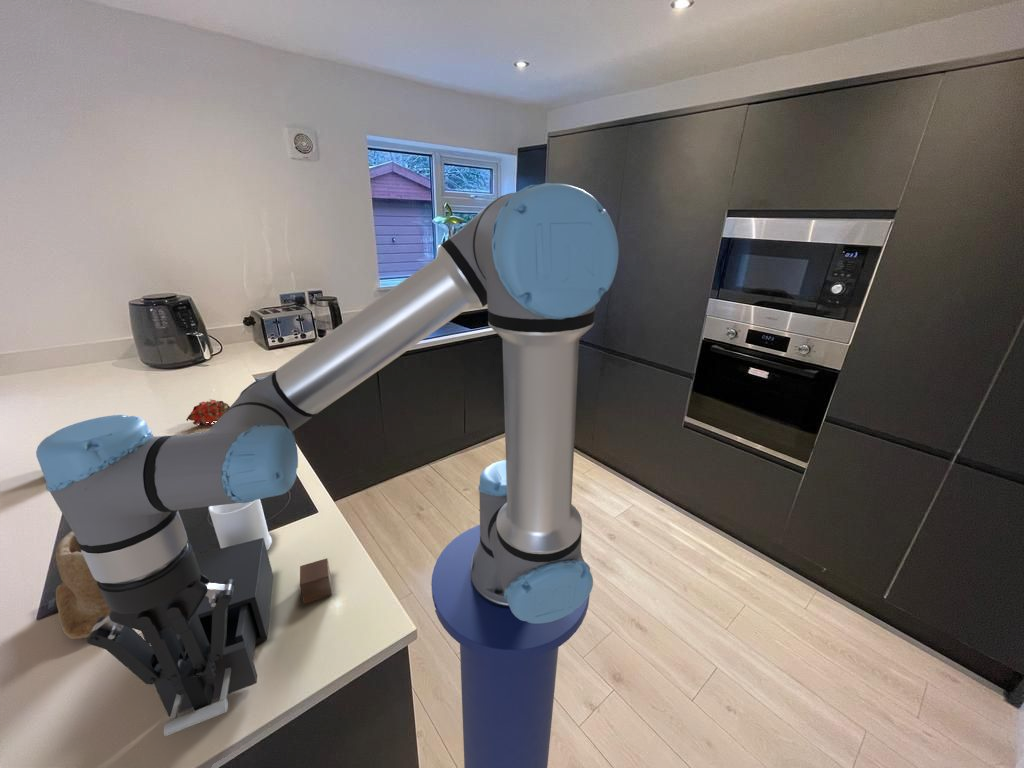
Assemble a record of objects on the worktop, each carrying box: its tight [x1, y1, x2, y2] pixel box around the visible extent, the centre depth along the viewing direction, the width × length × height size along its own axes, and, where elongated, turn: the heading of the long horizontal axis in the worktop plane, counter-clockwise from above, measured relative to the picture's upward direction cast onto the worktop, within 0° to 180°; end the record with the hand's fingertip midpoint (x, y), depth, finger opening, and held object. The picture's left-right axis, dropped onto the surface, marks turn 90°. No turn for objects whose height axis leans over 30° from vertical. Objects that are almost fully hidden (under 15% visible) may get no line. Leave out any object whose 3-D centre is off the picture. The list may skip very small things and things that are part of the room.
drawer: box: [153, 603, 258, 737], centre depth 56 cm, size 18×10×7 cm, turn 26°
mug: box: [208, 499, 273, 551], centre depth 80 cm, size 12×8×12 cm
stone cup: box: [55, 530, 111, 640], centre depth 66 cm, size 15×12×15 cm
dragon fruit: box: [185, 398, 231, 426], centre depth 130 cm, size 8×8×12 cm
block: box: [299, 557, 333, 605], centre depth 71 cm, size 4×4×4 cm
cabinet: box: [172, 538, 274, 644], centre depth 65 cm, size 14×11×9 cm
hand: (205, 700), depth 50 cm, fingers closed
